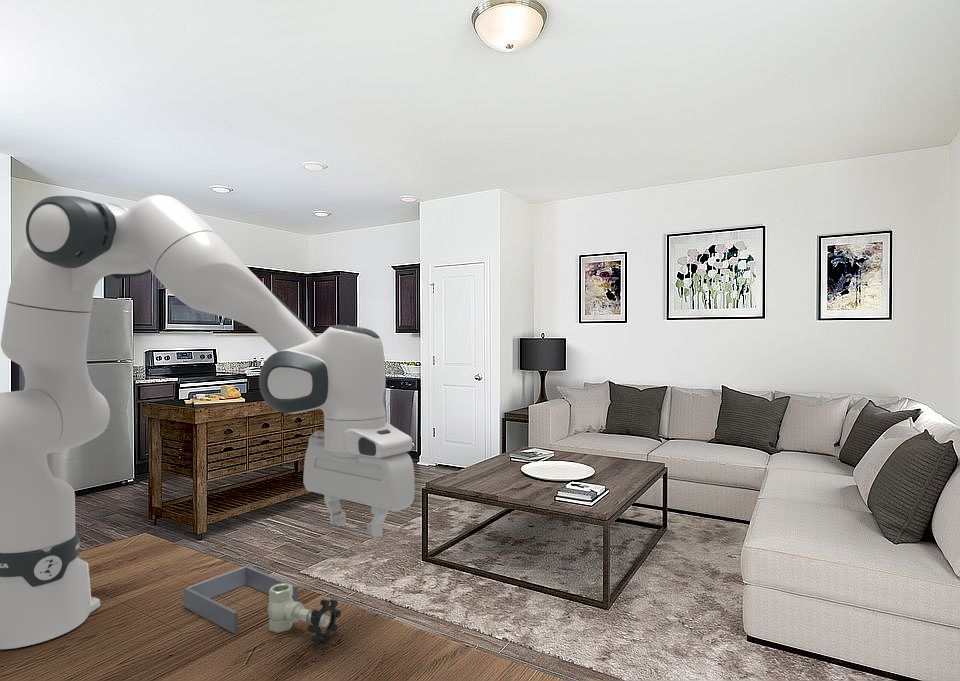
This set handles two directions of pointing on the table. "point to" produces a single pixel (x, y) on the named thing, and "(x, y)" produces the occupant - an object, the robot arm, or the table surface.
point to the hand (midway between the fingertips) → (355, 529)
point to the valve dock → (216, 612)
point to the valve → (300, 613)
